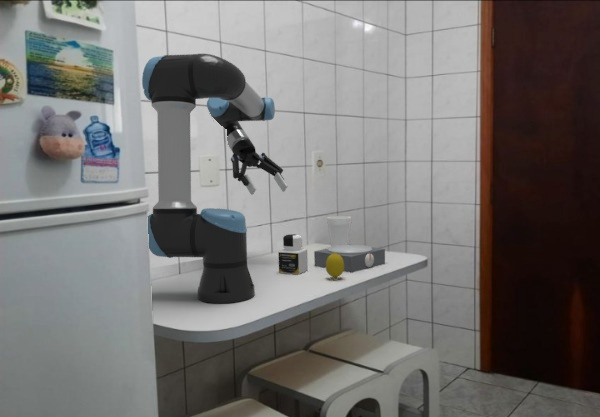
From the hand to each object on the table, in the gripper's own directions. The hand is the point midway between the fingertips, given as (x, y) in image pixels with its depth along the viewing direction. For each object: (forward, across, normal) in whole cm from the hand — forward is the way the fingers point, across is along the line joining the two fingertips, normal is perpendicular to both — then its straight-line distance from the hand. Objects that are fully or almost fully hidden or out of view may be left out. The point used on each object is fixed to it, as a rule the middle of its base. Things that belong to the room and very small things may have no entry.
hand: (270, 190), depth 178 cm
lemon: (+38, -1, +2) cm, 38 cm away
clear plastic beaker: (+16, -38, -22) cm, 47 cm away
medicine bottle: (+26, 0, -11) cm, 28 cm away
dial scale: (+31, -20, -6) cm, 37 cm away
